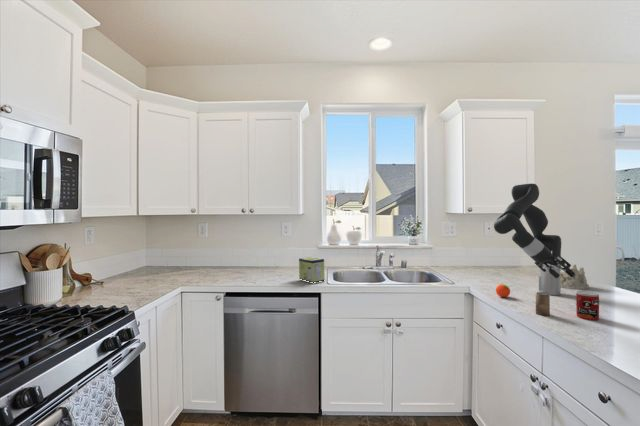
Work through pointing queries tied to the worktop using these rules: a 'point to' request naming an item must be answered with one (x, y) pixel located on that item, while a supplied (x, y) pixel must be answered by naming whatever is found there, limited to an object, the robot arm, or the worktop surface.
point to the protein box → (311, 269)
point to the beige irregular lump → (574, 279)
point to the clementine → (503, 290)
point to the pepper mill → (542, 303)
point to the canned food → (587, 305)
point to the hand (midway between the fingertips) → (565, 276)
